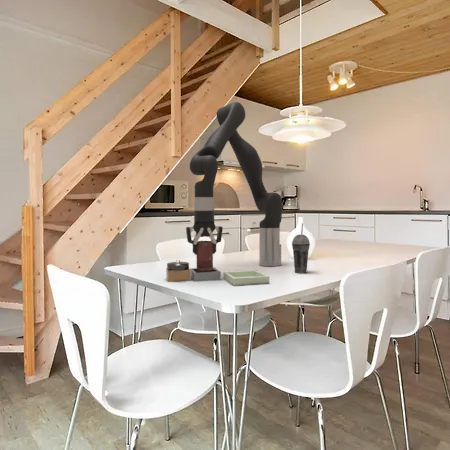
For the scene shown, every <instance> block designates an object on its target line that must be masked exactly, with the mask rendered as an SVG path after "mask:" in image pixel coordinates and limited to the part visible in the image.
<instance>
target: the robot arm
mask: <svg viewBox="0 0 450 450" xmlns="http://www.w3.org/2000/svg"><path fill="white" fill-rule="evenodd" d="M216 119H217V122H218V124H219V126H218V128H216V129H215V130H214V131H213V133H211V135H209V137H208V139H207V141H206V142H205V144H204V145H203V147H202V148H200V149H199V151H197V152H196V153H195V154H194V155H193V156H192V158H191V159H190V161H189V170H190V172H191V174H193V175H195V176H203V178H202V180H200V181H197V182H195V184H194V200H193V201H194V202H193V216H194V218H193V221H194V223H193V226H186V227H185V233H186V238H187V239H186V241H187V243H189V244H192V253H193V254H194V255H195V256H197V245H196V244H197V241H200V238H201V237H202V238H203V237H208V238H209V239H210V241H212V243H213V255H215V254H216V253H217V244H218V243H222V237H223V228H224V227H223V226H220V225H219V226H216V224H215V202H214V201H215V199H214V185H215V182H216V178H217V173H218V169H219V168H218V167H219V163H218V158H219V157H220V155H221V154H222V152H223V151H224V149H225V147H226V146H227V143H229V144H230V147H231V149H232V151H233V152H234V154H235V157H236V160H237V162H238V164H239V166H240V169H241V171H242V172H243V174H244V177H245V179H246V181H247V184H248V187H249V190H250V192H251V194H252V198H253V200H254V203H255V207H256V209H257V210H258V211H259V212H261V213H264V214H265V216H264V218H263V219H262V220H261V221H259V227H258V228H259V230H258V231H259V257H258V258H259V260H258V261H259V266H261V267H278V266H282V244H280V243H281V242H280V241H281V240H280V239H281V238H280V237H281V235H280V234H281V233H280V229H281V228H280V226H281V222H282V215H283V200H282V197H281V195H280V194H279V193H278V192H268V191H267V189H266V188H265V185H264V182H263V163H262V161H261V157H260V156H259V153H258V151H257V149H256V148H255V147H254V146H253V145H252V144H250V143H249V142H248V141H247V140H245V139H244V138H243V137H242V136H241V135H240V134H239V132H238V128H239V127H240V126H241V125H242V124H243V122H244V121H245V119H246V109H245V107H244V106H243V105H242V103H241V102H238V101H234V102H230V103H228V104H225V105H224V106H222V107H220V108H218V109H217V110H216ZM193 231H194V232H195V235H194V238H193V240H192V232H193ZM214 231H216V232H217V235H216V238H215V236H214V234H213V233H214Z"/></svg>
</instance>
